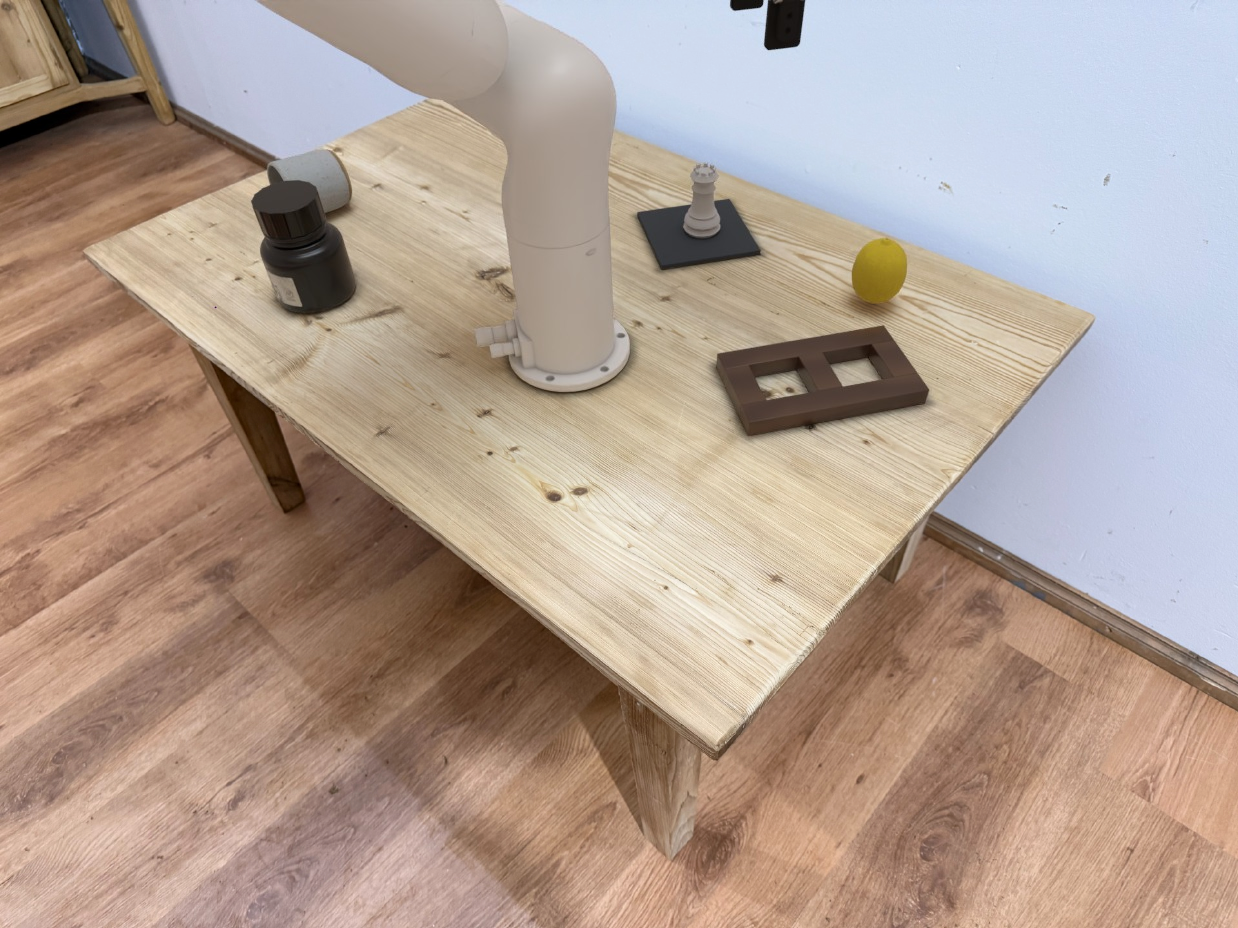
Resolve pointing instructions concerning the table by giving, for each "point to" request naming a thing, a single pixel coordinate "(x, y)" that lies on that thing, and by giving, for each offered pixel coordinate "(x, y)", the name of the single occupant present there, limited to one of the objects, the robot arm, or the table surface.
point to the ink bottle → (302, 248)
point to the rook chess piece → (702, 203)
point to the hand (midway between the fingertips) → (763, 27)
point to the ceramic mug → (316, 175)
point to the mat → (687, 250)
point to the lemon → (879, 270)
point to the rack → (819, 380)
